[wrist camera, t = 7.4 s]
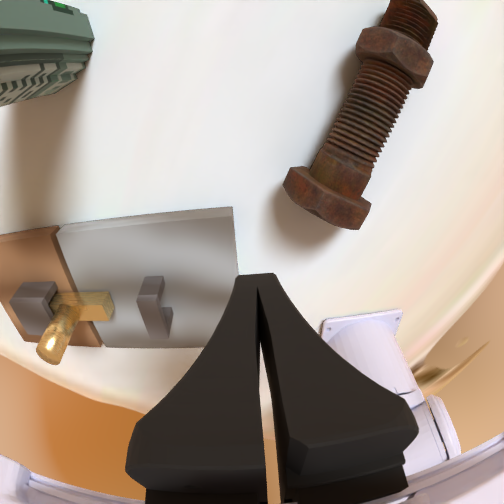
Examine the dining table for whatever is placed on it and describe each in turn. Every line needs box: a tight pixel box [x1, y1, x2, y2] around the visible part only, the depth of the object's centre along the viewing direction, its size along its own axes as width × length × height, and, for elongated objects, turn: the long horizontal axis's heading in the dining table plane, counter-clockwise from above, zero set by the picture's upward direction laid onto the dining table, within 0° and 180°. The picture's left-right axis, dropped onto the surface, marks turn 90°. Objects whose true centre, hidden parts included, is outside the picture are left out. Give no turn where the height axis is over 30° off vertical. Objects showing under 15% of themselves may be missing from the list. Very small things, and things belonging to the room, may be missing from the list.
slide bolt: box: [36, 291, 114, 365], centre depth 19 cm, size 2×9×6 cm, turn 93°
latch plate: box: [0, 207, 239, 348], centre depth 22 cm, size 12×24×4 cm, turn 93°
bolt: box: [283, 0, 438, 230], centre depth 15 cm, size 6×5×15 cm
